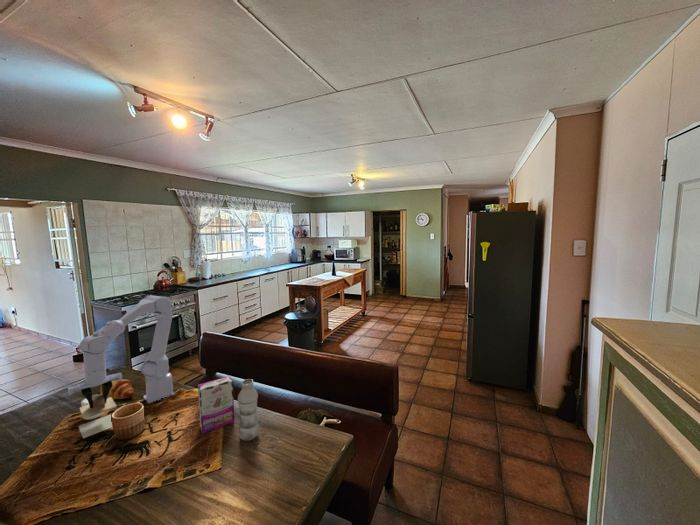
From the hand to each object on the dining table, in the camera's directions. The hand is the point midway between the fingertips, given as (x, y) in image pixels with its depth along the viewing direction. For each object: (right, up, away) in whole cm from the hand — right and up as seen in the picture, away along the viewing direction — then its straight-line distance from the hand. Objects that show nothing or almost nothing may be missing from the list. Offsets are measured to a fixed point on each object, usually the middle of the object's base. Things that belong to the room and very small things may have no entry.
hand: (98, 404), depth 104 cm
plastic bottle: (+57, -9, -5) cm, 58 cm away
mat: (0, -8, +1) cm, 8 cm away
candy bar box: (+43, -8, +1) cm, 44 cm away
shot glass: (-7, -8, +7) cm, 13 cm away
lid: (0, -1, 0) cm, 1 cm away
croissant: (-11, -7, +22) cm, 26 cm away
